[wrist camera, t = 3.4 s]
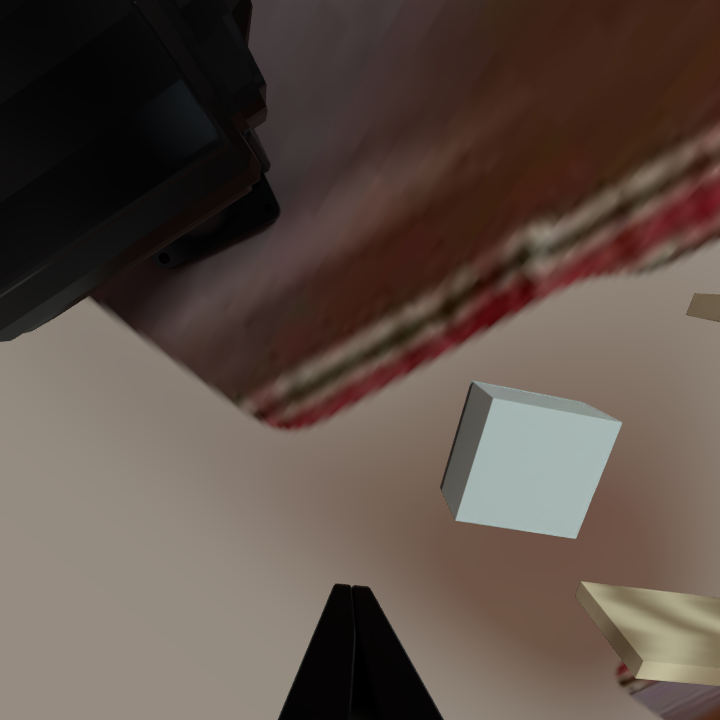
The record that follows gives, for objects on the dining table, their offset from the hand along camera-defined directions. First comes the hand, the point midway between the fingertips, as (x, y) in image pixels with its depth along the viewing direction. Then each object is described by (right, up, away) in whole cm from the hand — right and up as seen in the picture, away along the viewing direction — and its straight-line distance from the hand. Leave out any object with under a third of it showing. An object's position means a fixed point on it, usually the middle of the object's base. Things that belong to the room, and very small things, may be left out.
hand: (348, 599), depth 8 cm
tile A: (+9, 0, +13) cm, 16 cm away
